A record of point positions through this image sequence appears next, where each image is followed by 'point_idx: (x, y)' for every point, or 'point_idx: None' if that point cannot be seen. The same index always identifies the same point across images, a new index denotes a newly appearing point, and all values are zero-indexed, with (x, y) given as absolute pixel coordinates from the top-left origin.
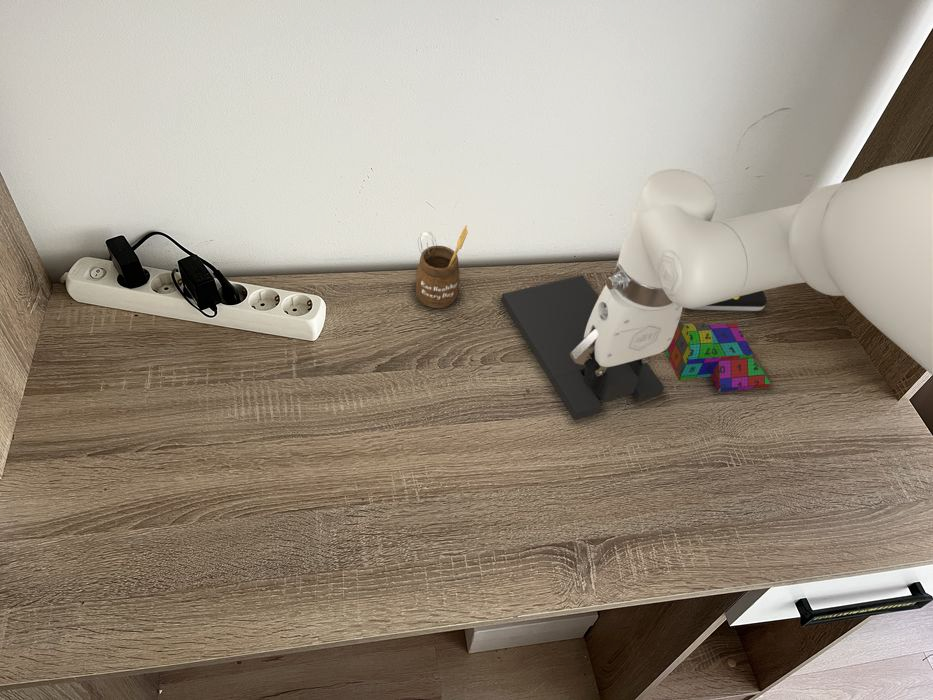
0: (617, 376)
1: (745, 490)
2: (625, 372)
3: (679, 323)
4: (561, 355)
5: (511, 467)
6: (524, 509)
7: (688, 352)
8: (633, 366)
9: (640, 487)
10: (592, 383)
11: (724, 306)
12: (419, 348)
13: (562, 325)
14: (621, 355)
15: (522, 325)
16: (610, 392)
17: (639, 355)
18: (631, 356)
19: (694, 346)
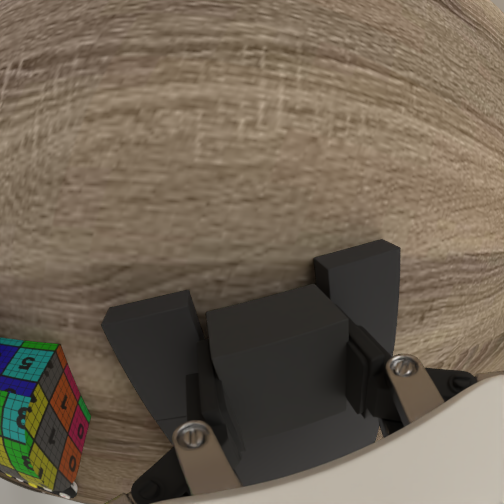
0: (294, 365)
1: (27, 8)
2: (256, 381)
3: (65, 487)
4: (350, 404)
5: (487, 154)
6: (481, 77)
7: (30, 419)
8: (227, 404)
9: (284, 12)
10: (368, 335)
11: None
12: (476, 368)
13: (310, 456)
14: (494, 452)
15: (375, 439)
16: (317, 307)
17: (354, 497)
18: (417, 475)
19: (15, 434)
